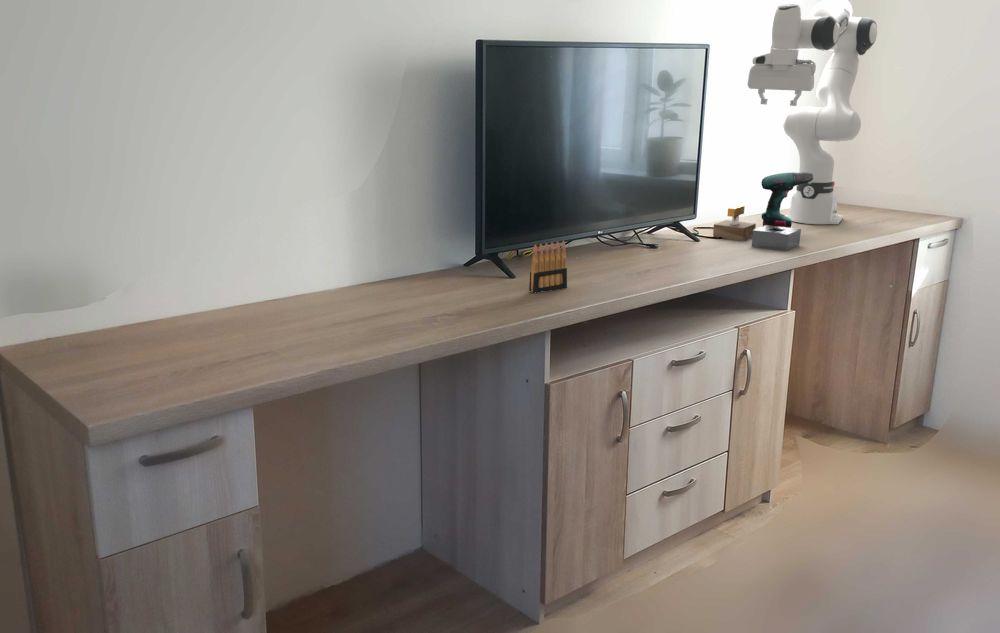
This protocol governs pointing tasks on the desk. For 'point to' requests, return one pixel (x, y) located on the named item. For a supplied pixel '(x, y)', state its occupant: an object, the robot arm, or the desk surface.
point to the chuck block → (776, 237)
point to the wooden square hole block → (734, 230)
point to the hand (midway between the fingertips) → (778, 105)
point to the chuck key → (735, 213)
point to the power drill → (781, 195)
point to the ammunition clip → (548, 268)
